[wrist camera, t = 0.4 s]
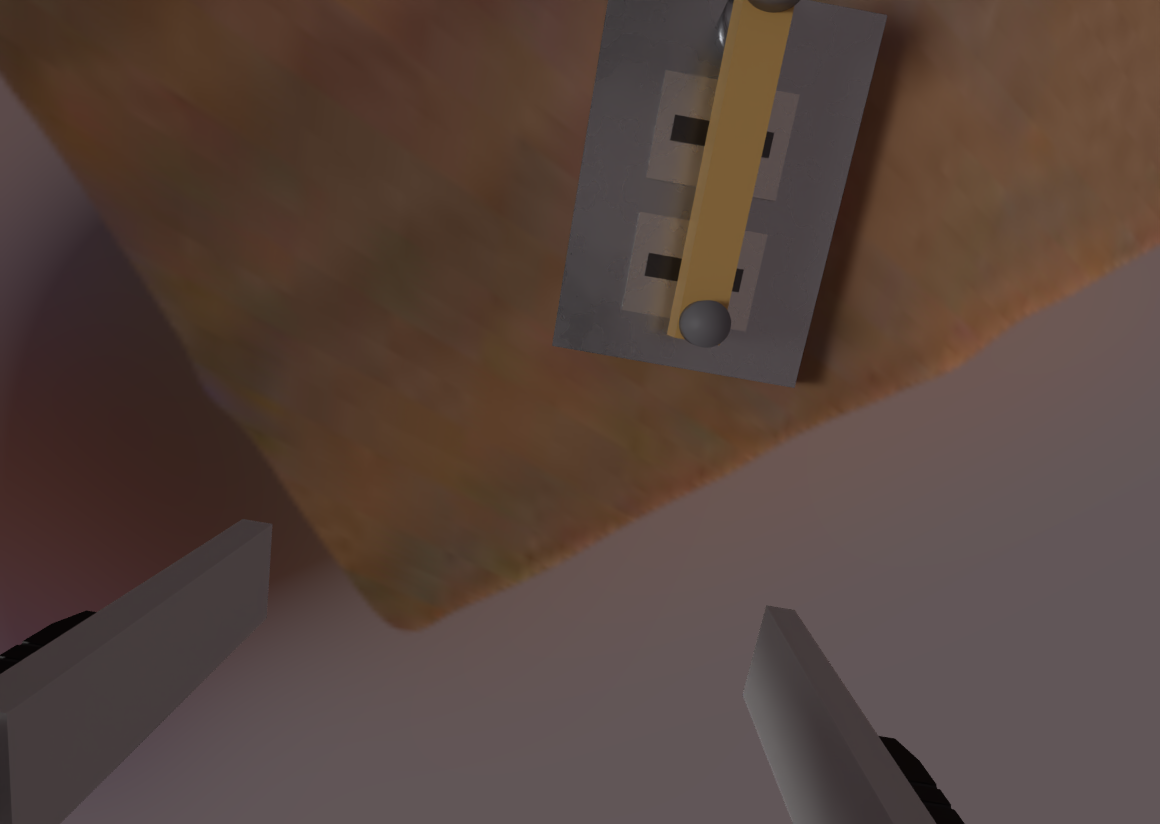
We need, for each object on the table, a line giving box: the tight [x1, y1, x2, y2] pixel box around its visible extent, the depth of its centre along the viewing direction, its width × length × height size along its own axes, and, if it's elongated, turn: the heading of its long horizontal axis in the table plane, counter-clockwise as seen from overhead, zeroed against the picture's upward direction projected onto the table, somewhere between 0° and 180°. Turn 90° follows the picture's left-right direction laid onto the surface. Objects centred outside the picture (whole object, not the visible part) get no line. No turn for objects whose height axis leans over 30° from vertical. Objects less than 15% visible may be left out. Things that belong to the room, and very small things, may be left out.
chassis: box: [552, 0, 887, 388], centre depth 34 cm, size 22×16×5 cm
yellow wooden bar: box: [667, 0, 800, 348], centre depth 29 cm, size 20×4×5 cm, turn 170°
